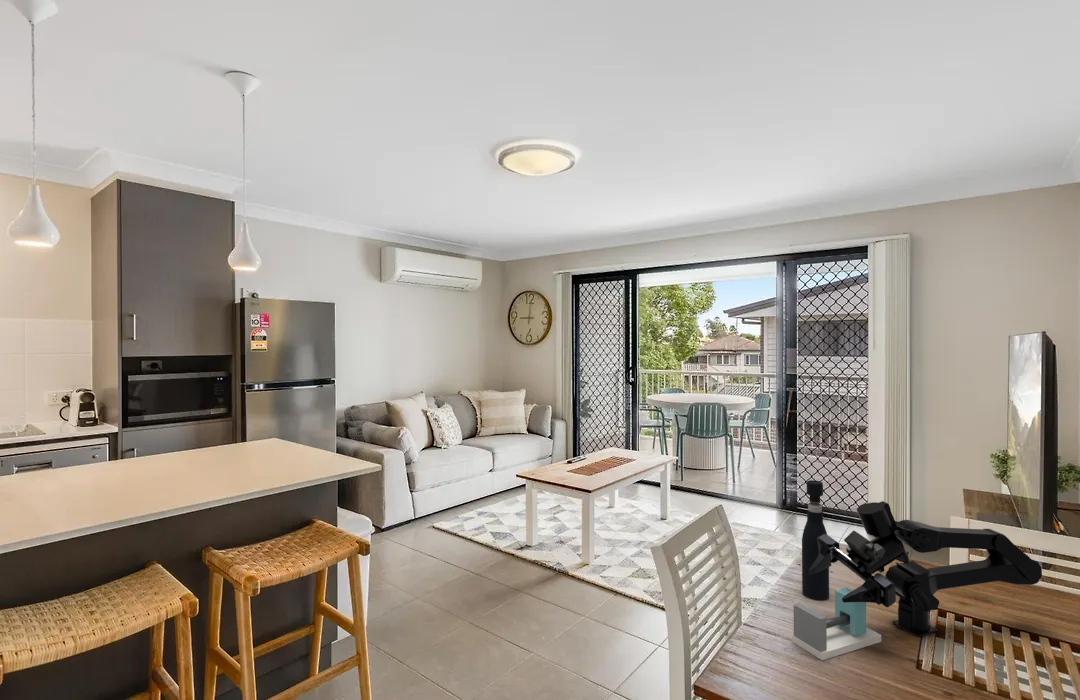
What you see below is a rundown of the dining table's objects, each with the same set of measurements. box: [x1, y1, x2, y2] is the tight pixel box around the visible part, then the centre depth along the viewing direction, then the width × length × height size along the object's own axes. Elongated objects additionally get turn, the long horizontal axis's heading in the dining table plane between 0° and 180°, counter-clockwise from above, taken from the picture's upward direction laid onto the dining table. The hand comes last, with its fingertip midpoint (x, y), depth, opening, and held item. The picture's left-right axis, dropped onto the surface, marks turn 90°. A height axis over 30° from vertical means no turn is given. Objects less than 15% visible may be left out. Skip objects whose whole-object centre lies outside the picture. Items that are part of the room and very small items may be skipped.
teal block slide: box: [791, 602, 882, 661], centre depth 121 cm, size 18×8×8 cm, turn 112°
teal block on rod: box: [834, 587, 867, 635], centre depth 123 cm, size 4×5×8 cm
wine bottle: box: [801, 480, 830, 601], centre depth 143 cm, size 6×6×30 cm
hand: (825, 586), depth 122 cm, fingers open, 9 cm apart
